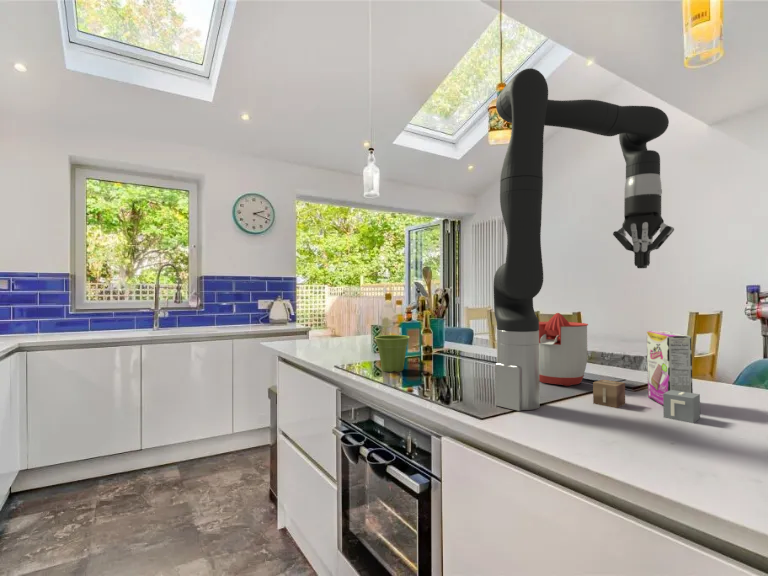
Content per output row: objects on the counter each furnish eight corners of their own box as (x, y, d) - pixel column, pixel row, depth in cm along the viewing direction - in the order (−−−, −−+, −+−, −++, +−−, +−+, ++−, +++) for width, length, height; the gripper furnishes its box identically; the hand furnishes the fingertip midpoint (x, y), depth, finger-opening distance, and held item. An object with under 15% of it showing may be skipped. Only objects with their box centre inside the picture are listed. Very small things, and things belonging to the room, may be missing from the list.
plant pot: (380, 366, 144) (379, 334, 144) (413, 368, 141) (412, 335, 141) (370, 372, 132) (370, 338, 133) (405, 374, 129) (405, 339, 129)
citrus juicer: (519, 383, 116) (518, 313, 116) (541, 374, 129) (540, 311, 129) (578, 392, 106) (577, 314, 106) (595, 381, 119) (594, 312, 119)
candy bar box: (646, 397, 100) (645, 330, 100) (669, 398, 99) (668, 330, 99) (668, 410, 89) (667, 335, 89) (694, 411, 88) (693, 335, 88)
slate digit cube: (693, 423, 80) (692, 397, 80) (663, 418, 84) (663, 393, 84) (700, 418, 83) (699, 393, 83) (671, 413, 87) (670, 389, 87)
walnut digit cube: (616, 408, 91) (615, 385, 91) (593, 404, 95) (592, 381, 95) (625, 404, 94) (625, 382, 94) (602, 400, 98) (602, 378, 98)
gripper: (606, 198, 101) (606, 268, 101) (669, 188, 91) (669, 266, 90) (619, 203, 106) (618, 269, 105) (680, 193, 95) (680, 267, 95)
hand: (642, 268), depth 98 cm, fingers closed
